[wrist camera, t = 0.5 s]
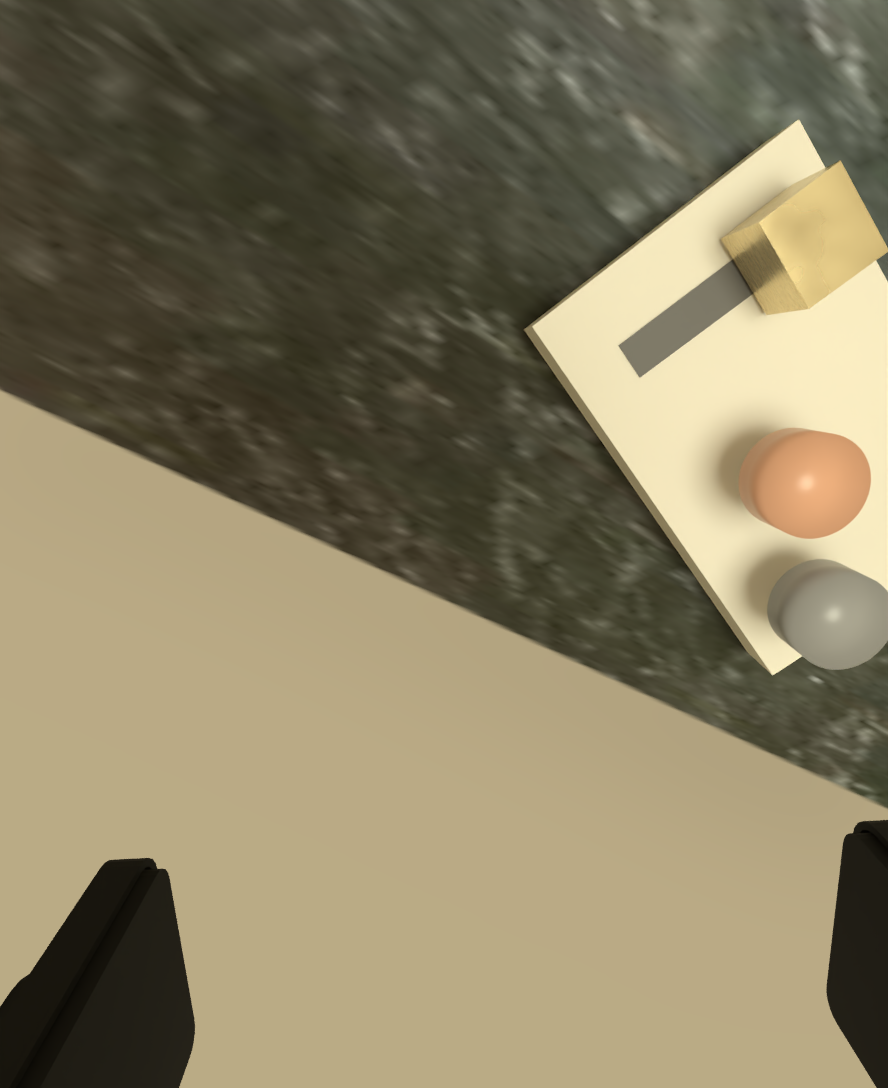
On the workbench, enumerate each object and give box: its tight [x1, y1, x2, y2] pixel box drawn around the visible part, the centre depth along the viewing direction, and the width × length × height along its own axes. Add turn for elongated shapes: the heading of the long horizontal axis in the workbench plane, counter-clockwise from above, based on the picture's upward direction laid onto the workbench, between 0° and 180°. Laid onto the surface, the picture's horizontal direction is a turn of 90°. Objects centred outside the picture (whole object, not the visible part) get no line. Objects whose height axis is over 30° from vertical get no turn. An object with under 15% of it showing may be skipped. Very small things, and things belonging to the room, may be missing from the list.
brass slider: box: [721, 161, 888, 315], centre depth 28 cm, size 4×4×4 cm
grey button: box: [767, 559, 888, 670], centre depth 31 cm, size 4×4×4 cm
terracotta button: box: [738, 428, 871, 539], centre depth 30 cm, size 4×4×4 cm
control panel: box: [524, 120, 888, 675], centre depth 34 cm, size 14×22×3 cm, turn 37°
